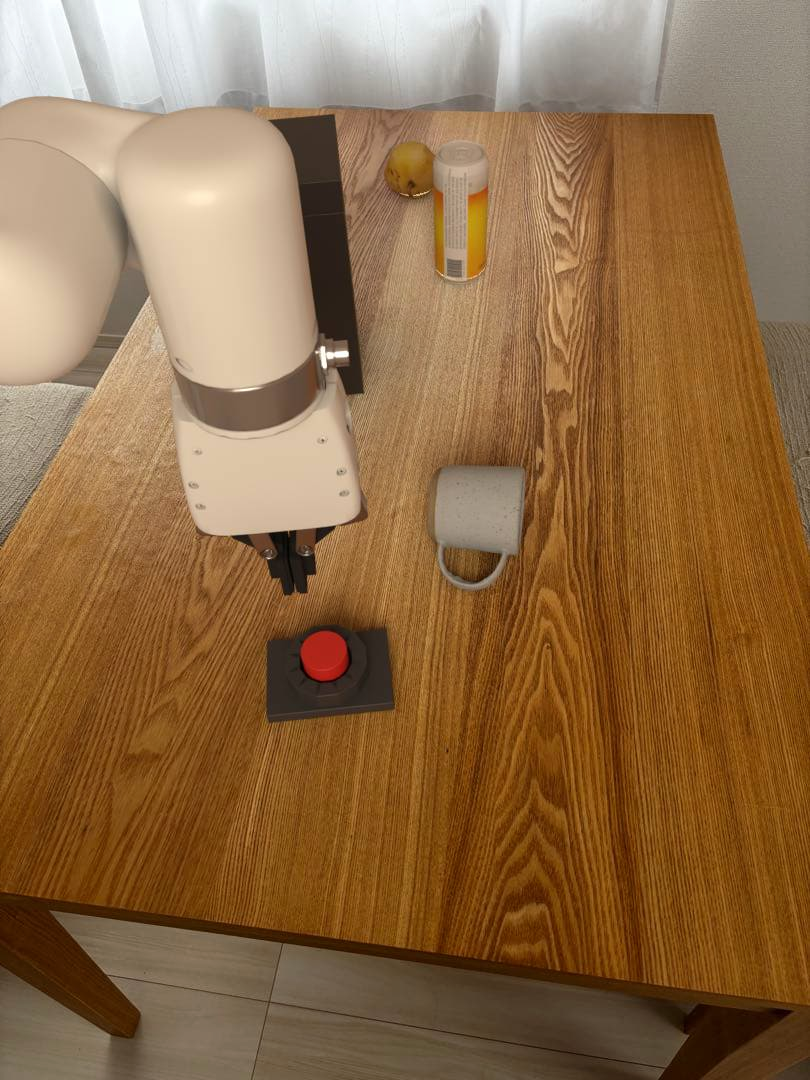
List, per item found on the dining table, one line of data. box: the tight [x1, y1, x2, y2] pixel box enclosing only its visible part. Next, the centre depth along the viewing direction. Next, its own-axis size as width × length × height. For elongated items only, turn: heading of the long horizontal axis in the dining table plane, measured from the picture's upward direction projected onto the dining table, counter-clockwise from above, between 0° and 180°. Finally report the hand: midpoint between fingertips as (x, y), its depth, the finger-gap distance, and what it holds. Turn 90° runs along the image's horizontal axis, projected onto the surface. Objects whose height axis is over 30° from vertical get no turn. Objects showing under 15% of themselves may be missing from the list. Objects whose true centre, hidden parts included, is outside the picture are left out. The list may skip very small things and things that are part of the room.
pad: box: [265, 623, 395, 724], centre depth 70 cm, size 10×7×3 cm
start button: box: [301, 631, 349, 681], centre depth 68 cm, size 4×4×2 cm
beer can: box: [432, 139, 490, 286], centre depth 99 cm, size 6×6×15 cm
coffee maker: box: [267, 113, 365, 396], centre depth 86 cm, size 17×12×24 cm
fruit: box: [383, 141, 436, 199], centre depth 114 cm, size 7×7×10 cm
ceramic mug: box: [427, 464, 526, 591], centre depth 76 cm, size 11×8×8 cm
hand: (295, 577), depth 59 cm, fingers closed
